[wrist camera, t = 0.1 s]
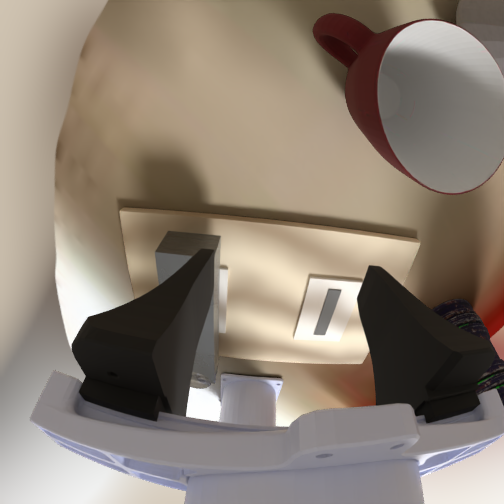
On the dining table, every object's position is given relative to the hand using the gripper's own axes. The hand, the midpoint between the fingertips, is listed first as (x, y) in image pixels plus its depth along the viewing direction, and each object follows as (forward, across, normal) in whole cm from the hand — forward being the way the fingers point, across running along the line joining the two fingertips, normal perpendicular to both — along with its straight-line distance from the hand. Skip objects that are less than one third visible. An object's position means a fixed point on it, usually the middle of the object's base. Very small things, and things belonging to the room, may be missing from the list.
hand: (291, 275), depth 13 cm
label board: (+10, 0, +10) cm, 15 cm away
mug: (+10, -5, -10) cm, 15 cm away
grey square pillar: (+9, +6, +11) cm, 15 cm away
